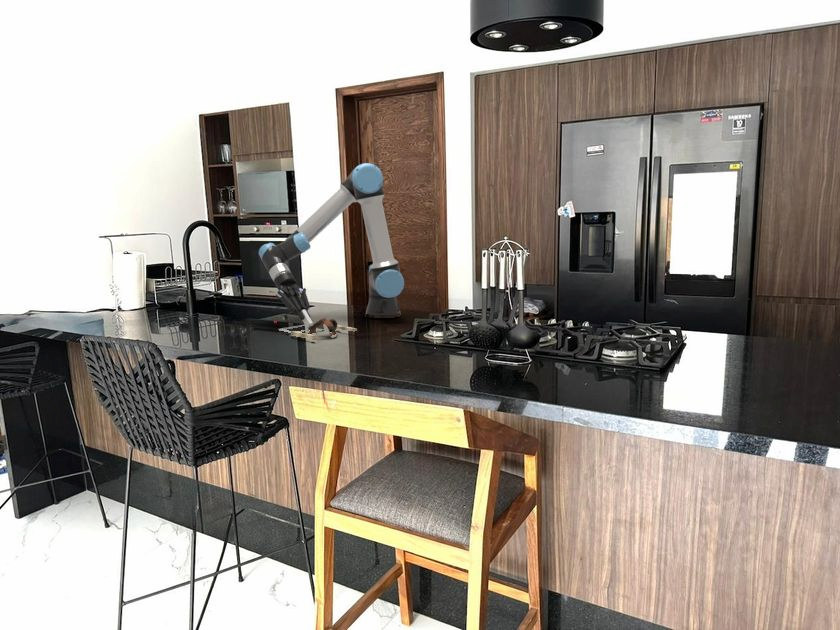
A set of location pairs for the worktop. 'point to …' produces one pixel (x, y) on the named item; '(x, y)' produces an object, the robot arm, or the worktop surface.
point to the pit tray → (292, 328)
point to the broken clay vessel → (319, 324)
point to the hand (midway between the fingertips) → (309, 325)
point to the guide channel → (314, 337)
